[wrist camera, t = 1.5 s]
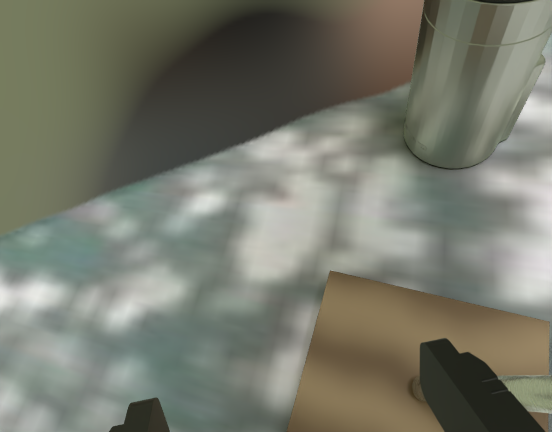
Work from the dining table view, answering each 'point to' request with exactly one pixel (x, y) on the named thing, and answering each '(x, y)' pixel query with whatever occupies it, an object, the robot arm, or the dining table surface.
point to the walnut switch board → (400, 355)
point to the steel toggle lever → (518, 390)
